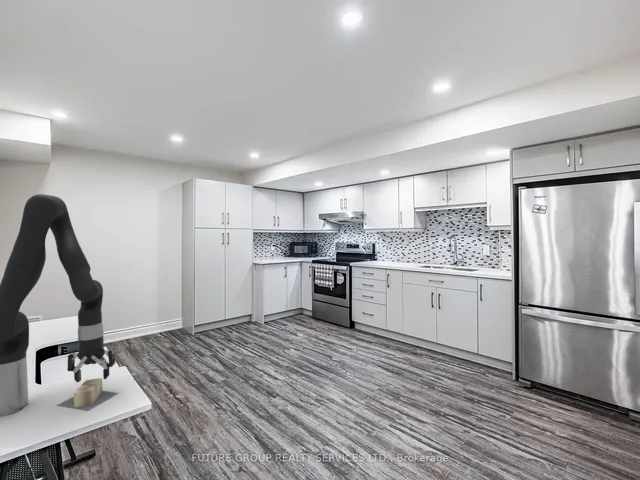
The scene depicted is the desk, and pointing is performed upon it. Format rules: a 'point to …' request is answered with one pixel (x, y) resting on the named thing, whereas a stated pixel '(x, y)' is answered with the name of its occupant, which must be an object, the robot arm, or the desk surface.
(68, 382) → the desk surface
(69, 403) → the rubber mat
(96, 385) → the maple block
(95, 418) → the desk surface
